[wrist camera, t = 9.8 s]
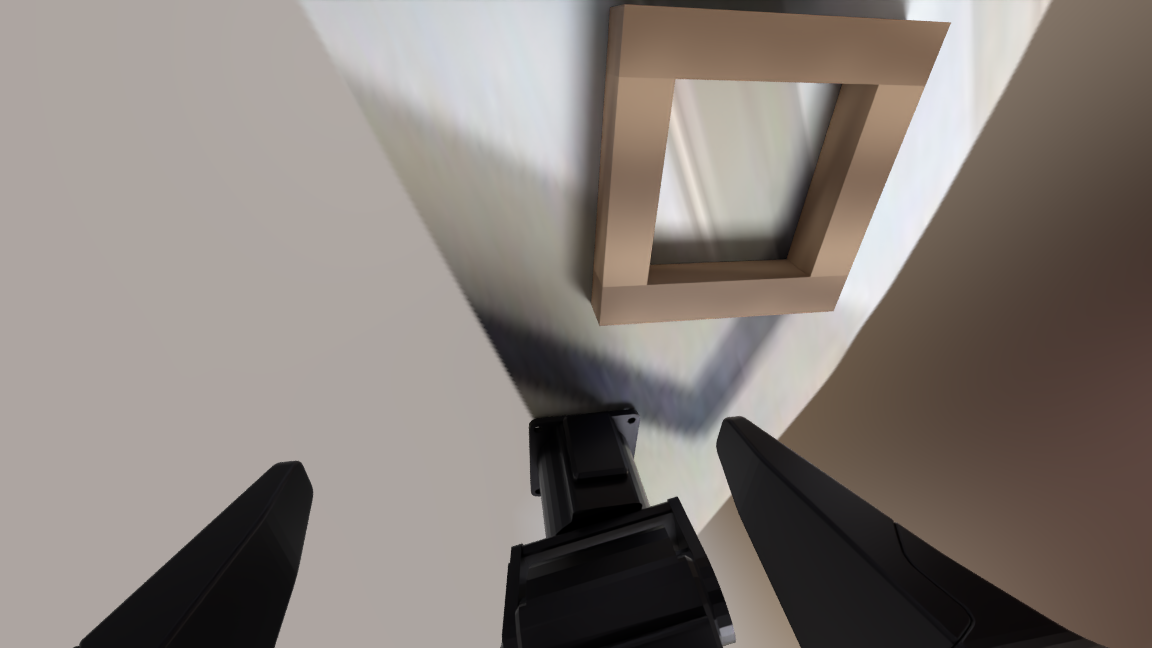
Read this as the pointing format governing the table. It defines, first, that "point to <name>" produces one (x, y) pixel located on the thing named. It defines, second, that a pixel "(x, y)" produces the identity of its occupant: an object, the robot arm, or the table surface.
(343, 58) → the table surface
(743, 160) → the table surface
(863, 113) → the socket block
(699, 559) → the robot arm
